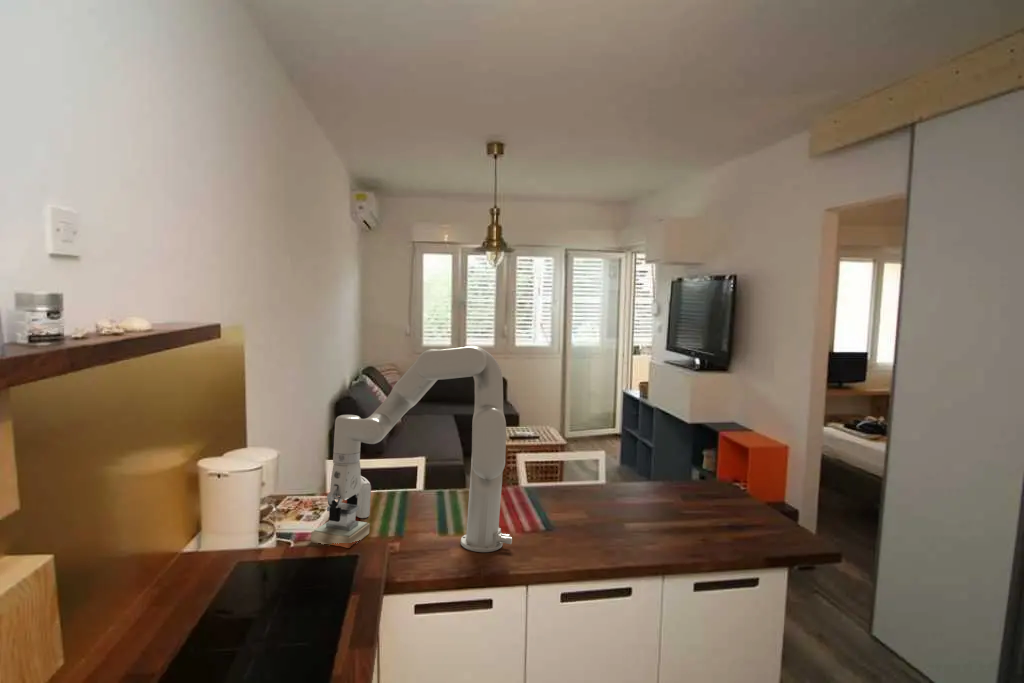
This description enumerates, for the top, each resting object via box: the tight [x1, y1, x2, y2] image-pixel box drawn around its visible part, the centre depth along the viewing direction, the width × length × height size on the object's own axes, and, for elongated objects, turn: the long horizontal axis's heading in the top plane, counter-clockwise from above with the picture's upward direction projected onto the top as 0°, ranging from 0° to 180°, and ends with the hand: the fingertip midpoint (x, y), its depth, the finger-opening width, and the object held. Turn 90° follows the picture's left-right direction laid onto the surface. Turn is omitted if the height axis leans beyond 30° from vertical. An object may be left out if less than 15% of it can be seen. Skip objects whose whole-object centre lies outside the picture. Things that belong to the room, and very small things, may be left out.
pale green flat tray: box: [310, 520, 371, 545], centre depth 156 cm, size 12×12×3 cm
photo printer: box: [356, 475, 372, 519], centre depth 176 cm, size 10×4×12 cm, turn 39°
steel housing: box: [325, 502, 359, 531], centre depth 156 cm, size 8×5×6 cm, turn 78°
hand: (343, 515), depth 156 cm, fingers open, 9 cm apart
